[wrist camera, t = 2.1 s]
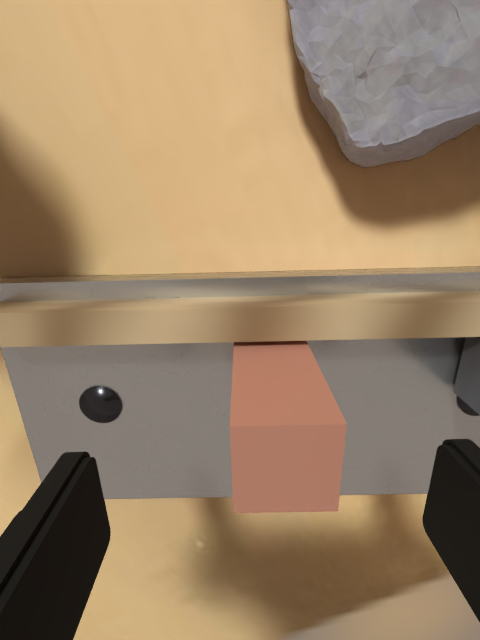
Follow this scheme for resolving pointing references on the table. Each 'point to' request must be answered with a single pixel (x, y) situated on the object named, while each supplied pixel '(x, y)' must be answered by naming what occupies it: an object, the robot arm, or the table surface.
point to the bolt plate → (216, 384)
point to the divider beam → (254, 322)
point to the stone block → (390, 72)
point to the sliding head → (283, 430)
